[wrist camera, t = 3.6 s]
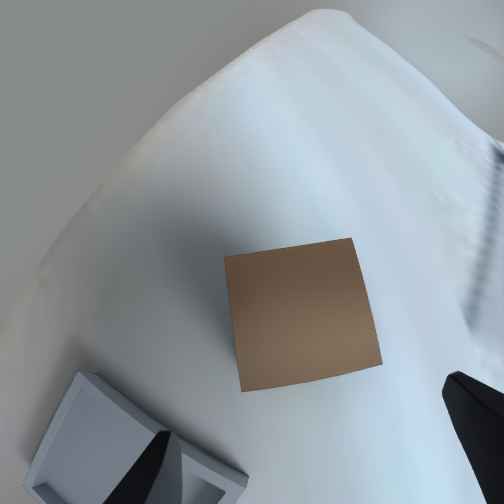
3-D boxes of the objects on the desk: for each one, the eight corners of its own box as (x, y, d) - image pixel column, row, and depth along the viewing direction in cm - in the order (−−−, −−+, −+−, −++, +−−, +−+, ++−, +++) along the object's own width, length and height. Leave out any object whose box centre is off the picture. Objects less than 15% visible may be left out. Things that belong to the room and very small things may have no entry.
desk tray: (248, 476, 16) (245, 488, 13) (165, 576, 11) (155, 591, 9) (97, 373, 19) (78, 370, 16) (40, 481, 15) (22, 485, 12)
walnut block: (323, 374, 18) (382, 364, 8) (258, 385, 18) (241, 392, 8) (311, 312, 20) (351, 237, 10) (248, 322, 20) (224, 257, 10)
